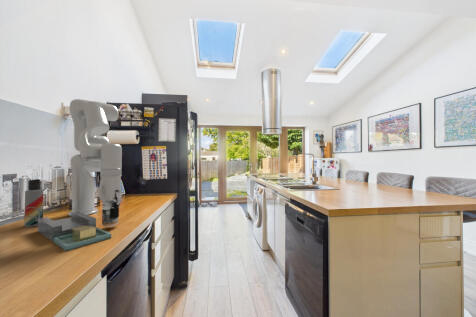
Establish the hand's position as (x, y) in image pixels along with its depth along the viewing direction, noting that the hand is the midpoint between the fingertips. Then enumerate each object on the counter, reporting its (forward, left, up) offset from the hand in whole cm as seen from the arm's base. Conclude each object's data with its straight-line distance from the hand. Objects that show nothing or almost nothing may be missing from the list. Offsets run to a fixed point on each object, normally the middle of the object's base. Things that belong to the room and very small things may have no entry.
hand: (110, 216), depth 83 cm
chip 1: (+5, -12, -4) cm, 13 cm away
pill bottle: (0, 0, -4) cm, 4 cm away
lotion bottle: (-32, -17, -5) cm, 36 cm away
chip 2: (+7, -12, -2) cm, 14 cm away
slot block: (-10, -12, -5) cm, 16 cm away
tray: (+6, -12, -5) cm, 14 cm away
